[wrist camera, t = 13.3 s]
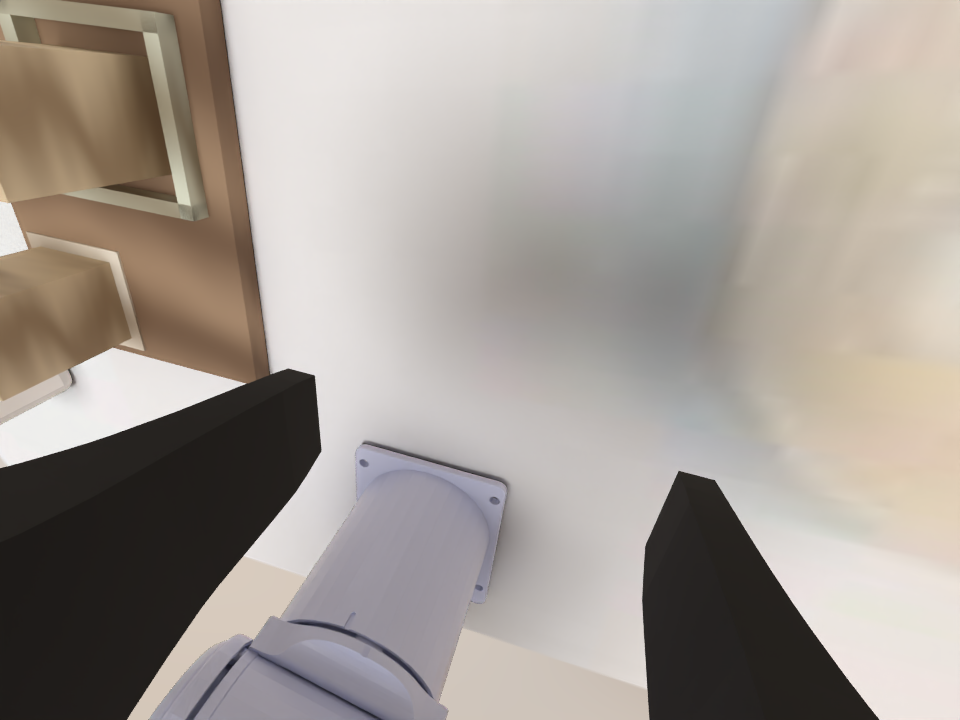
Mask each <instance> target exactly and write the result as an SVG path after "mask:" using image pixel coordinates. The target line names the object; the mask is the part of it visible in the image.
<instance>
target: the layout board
mask: <svg viewBox="0 0 960 720" xmlns="http://www.w3.org/2000/svg"><path fill="white" fill-rule="evenodd" d="M0 40H4V41H15V42H27V43H38V44H49V45H60V46H68V47H75V48H83V49H91V50H98V51H106V52H113V53H121V54H129V55H136V56H144V57H148V61H149V66H150V71H151V75H152V80H153V85H154V90H155V94H156V99H157V104H158V109H159V114H160V119H161V123H162V128H163V133H164V138H165V143H166V148H167V153H168V158H169V162H170V167H171V172H172V175H166V176H161V177H155V178H149V179H143V180H138V181H132V182H126V183H121V184H115V185H109V186H103V187H98V188H92V189H86V190H80V191H75V192H69V193H63V194H57V195H52V196H46V197H40V198H34V199H29V200H23V201H17V202H11V204H12V207H13V209H14V212H15V215H16V217H17V220H18V222H19V225H20V228H21V230H22V233H23V236H24V238H25V241H26V244H27V246H28V250H24V251H20V252H17V253H13V254H9V255H5V256H1V257H0V401H4V400H7V399H9V398H11V397H13V396H15V395H17V394H19V393H21V392H23V391H25V390H27V389H29V388H31V387H33V386H35V385H37V384H39V383H41V382H43V381H45V380H47V379H49V378H51V377H54V376H56V375H58V374H60V373H62V372H64V371H66V370H68V369H70V368H72V367H74V366H76V365H78V364H80V363H82V362H84V361H86V360H88V359H90V358H92V357H94V356H96V355H98V354H101V353H103V352H105V351H107V350H109V349H111V348H117V349H120V350H124V351H128V352H132V353H135V354H139V355H143V356H147V357H150V358H154V359H158V360H161V361H165V362H169V363H173V364H176V365H180V366H184V367H187V368H191V369H195V370H199V371H202V372H206V373H210V374H213V375H217V376H221V377H225V378H228V379H232V380H236V381H239V382H243V383H250V382H253V381H255V380H258V379H260V378H263V377H266V376H268V375H270V373H269V366H268V358H267V351H266V343H265V336H264V328H263V321H262V313H261V306H260V298H259V291H258V283H257V276H256V268H255V261H254V253H253V246H252V238H251V231H250V223H249V216H248V208H247V201H246V193H245V186H244V178H243V171H242V163H241V156H240V148H239V141H238V133H237V126H236V118H235V111H234V103H233V96H232V89H231V81H230V74H229V66H228V59H227V51H226V44H225V36H224V29H223V21H222V14H221V6H220V0H0Z"/></svg>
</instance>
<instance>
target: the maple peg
mask: <svg viewBox="0 0 960 720" xmlns="http://www.w3.org/2000/svg"><path fill="white" fill-rule="evenodd" d="M166 175H172V172H171V167H170V162H169V158H168V153H167V148H166V143H165V138H164V133H163V128H162V123H161V119H160V114H159V109H158V104H157V99H156V94H155V90H154V85H153V80H152V75H151V71H150V66H149V61H148V57H144V56H136V55H129V54H121V53H113V52H106V51H98V50H91V49H83V48H75V47H68V46H60V45H49V44H38V43H27V42H15V41H4V40H0V201H1V202H6V203H11V202H17V201H23V200H29V199H34V198H40V197H46V196H52V195H57V194H63V193H69V192H75V191H80V190H86V189H92V188H98V187H103V186H109V185H115V184H121V183H126V182H132V181H138V180H143V179H149V178H155V177H161V176H166Z"/></svg>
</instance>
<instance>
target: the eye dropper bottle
mask: <svg viewBox="0 0 960 720" xmlns="http://www.w3.org/2000/svg"><path fill="white" fill-rule="evenodd" d="M71 383H72V378H71V375H70V373H69V371H68V370H66V371H64V372H62V373H60V374H58V375H56V376H54V377H51V378H49V379H47V380H45V381H43V382H41V383H39V384H37V385H35V386H33V387H31V388H29V389H27V390H25V391H23V392H21V393H19V394H17V395H15V396H13V397H11V398H9V399H7V400H4V401H0V425H1V424H3V423H5V422H7V421H9V420H10V419H12V418H14V417H16V416H18V415H20V414H22V413H24V412H26V411H28V410H30V409H31V408H33V407H35V406H37V405H39V404H41V403H43V402H45V401H47V400H49V399H51V398H52V397H54V396H56V395H58V394H60V393H62V392H64V391H65V390H67V389H68V388H69V387H70V385H71Z"/></svg>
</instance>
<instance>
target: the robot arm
mask: <svg viewBox="0 0 960 720" xmlns="http://www.w3.org/2000/svg"><path fill="white" fill-rule="evenodd" d="M320 453H321V441H320V429H319V418H318V407H317V395H316V384H315V376H314V375H311V374H307V373H303V372H299V371H295V370H292V369H286V370H283V371H280V372H277V373H274V374H271V375H268V376H266V377H263V378H260V379H258V380H255V381H253V382H250V383H247V384H245V385H242V386H240V387H237V388H235V389H232V390H230V391H227V392H225V393H222V394H220V395H217V396H215V397H212V398H210V399H207V400H205V401H202V402H200V403H197V404H195V405H192V406H190V407H187V408H185V409H182V410H180V411H177V412H174V413H172V414H169V415H166V416H163V417H161V418H158V419H155V420H152V421H150V422H147V423H144V424H141V425H139V426H136V427H133V428H130V429H127V430H125V431H122V432H119V433H116V434H114V435H111V436H108V437H105V438H102V439H99V440H96V441H93V442H90V443H87V444H83V445H80V446H77V447H74V448H71V449H67V450H64V451H61V452H57V453H54V454H50V455H47V456H43V457H40V458H37V459H33V460H30V461H26V462H23V463H19V464H15V465H12V466H8V467H3V468H0V720H127V719H128V717H129V715H130V714H131V712H132V711H133V709H134V707H135V706H136V704H137V703H138V702H139V700H140V698H141V697H142V695H143V694H144V692H145V691H146V689H147V688H148V686H149V685H150V683H151V682H152V680H153V679H154V677H155V675H156V674H157V672H158V671H159V669H160V668H161V666H162V665H163V663H164V662H165V660H166V659H167V657H168V656H169V654H170V653H171V651H172V650H173V648H174V647H175V646H176V644H177V643H178V641H179V640H180V638H181V637H182V635H183V634H184V632H185V631H186V630H187V628H188V626H189V625H190V624H191V622H192V621H193V619H194V618H195V616H196V615H197V614H198V612H199V611H200V609H201V608H202V606H203V605H204V604H205V602H206V601H207V600H208V599H209V597H210V596H211V595H212V593H213V592H214V591H215V590H216V588H217V587H218V586H219V584H220V583H221V582H222V581H223V580H224V578H225V577H226V576H227V575H228V574H229V572H230V571H231V570H232V569H233V567H234V566H235V565H236V564H237V563H238V562H239V560H240V559H241V558H242V557H243V556H244V554H245V553H246V552H247V551H248V550H249V548H250V547H251V546H252V545H253V544H254V542H255V541H256V540H257V539H258V538H259V536H260V535H261V534H262V533H263V532H264V530H265V529H266V528H267V527H268V526H269V524H270V523H271V522H272V521H273V520H274V518H275V517H276V516H277V515H278V513H279V512H280V511H281V510H282V509H283V507H284V506H285V505H286V504H287V502H288V501H289V500H290V499H291V497H292V496H293V495H294V494H295V492H296V491H297V489H298V488H299V486H300V485H301V483H302V482H303V480H304V479H305V477H306V476H307V474H308V472H309V471H310V469H311V467H312V466H313V464H314V462H315V461H316V459H317V458H318V456H319V454H320ZM355 455H356V491H357V503H356V505H355V506H354V508H353V509H352V511H351V512H350V514H349V515H348V517H347V518H346V520H345V521H344V523H343V524H342V526H341V527H340V529H339V530H338V532H337V533H336V535H335V536H334V538H333V539H332V541H331V542H330V544H329V545H328V547H327V548H326V550H325V551H324V553H323V554H322V556H321V557H320V559H319V560H318V562H317V563H316V565H315V566H314V568H313V569H312V571H311V572H310V574H309V575H308V577H307V578H306V580H305V581H304V583H303V584H302V586H301V587H300V589H299V590H298V592H297V593H296V595H295V596H294V598H293V599H292V601H291V602H290V604H289V605H288V607H287V608H286V610H285V611H284V613H283V614H282V616H281V617H280V619H279V618H277V617H275V616H271V617H269V619H268V621H267V622H266V623H265V625H264V626H263V628H262V629H261V630H260V632H259V633H258V635H257V636H256V638H255V639H254V641H253V639H251V638H249V637H247V636H245V635H243V634H237V635H235V636H233V637H231V638H229V639H228V640H226V641H223V642H220V643H218V644H216V645H213V646H212V647H210V648H209V649H208V650H206V651H205V652H204V653H203V654H202V655H201V656H200V657H199V658H198V659H197V660H196V661H195V662H194V663H193V664H192V665H191V666H190V667H189V669H188V670H187V671H186V672H185V673H184V674H183V676H182V677H181V678H180V679H179V680H178V682H177V683H176V684H175V685H174V686H173V688H172V689H171V690H170V691H169V693H168V694H167V695H166V696H165V698H164V699H163V700H162V702H161V703H160V705H159V706H158V707H157V708H156V710H155V711H154V712H153V714H152V715H151V717H150V718H149V719H148V720H446V717H447V714H448V709H447V708H446V707H445V706H443V705H441V704H440V703H439V700H440V697H441V694H442V690H443V687H444V684H445V681H446V678H447V674H448V671H449V668H450V665H451V662H452V658H453V655H454V652H455V649H456V646H457V642H458V639H459V636H460V633H461V629H462V626H463V623H464V620H465V617H466V614H467V610H468V607H469V604H470V601H471V602H474V603H478V604H482V603H484V602H485V600H486V597H487V592H488V587H489V582H490V577H491V571H492V566H493V561H494V556H495V551H496V546H497V541H498V536H499V531H500V525H501V520H502V515H503V510H504V505H505V500H506V495H507V488H506V486H505V485H504V484H503V483H501V482H499V481H496V480H492V479H489V478H485V477H482V476H478V475H475V474H471V473H467V472H464V471H460V470H457V469H453V468H450V467H446V466H442V465H439V464H435V463H432V462H428V461H425V460H421V459H417V458H414V457H410V456H407V455H403V454H400V453H396V452H392V451H389V450H385V449H382V448H378V447H375V446H371V445H367V444H362V445H360V446H359V447H358V448H357V450H356V453H355ZM365 460H366V461H367V462H366V461H365ZM493 497H496V498H498V499H495V498H493ZM642 604H643V623H644V640H645V657H646V672H647V688H648V703H649V718H650V720H879V719H878V717H877V716H876V715H875V714H874V712H873V711H872V710H871V709H870V708H869V706H868V705H867V704H866V702H865V701H864V700H863V699H862V697H861V696H860V695H859V693H858V692H857V691H856V689H855V688H854V687H853V686H852V684H851V683H850V682H849V680H848V679H847V678H846V676H845V675H844V674H843V672H842V671H841V670H840V668H839V667H838V666H837V664H836V663H835V661H834V660H833V659H832V657H831V656H830V655H829V653H828V652H827V650H826V649H825V648H824V646H823V645H822V644H821V642H820V641H819V640H818V638H817V637H816V635H815V634H814V633H813V631H812V630H811V629H810V627H809V626H808V624H807V623H806V621H805V620H804V619H803V617H802V616H801V614H800V613H799V611H798V610H797V608H796V607H795V606H794V604H793V603H792V601H791V600H790V598H789V597H788V595H787V594H786V592H785V591H784V589H783V588H782V586H781V585H780V583H779V582H778V580H777V579H776V577H775V576H774V574H773V573H772V571H771V570H770V568H769V566H768V565H767V563H766V562H765V560H764V559H763V557H762V556H761V554H760V552H759V551H758V549H757V548H756V546H755V544H754V543H753V541H752V540H751V538H750V536H749V535H748V533H747V532H746V530H745V528H744V527H743V525H742V524H741V522H740V520H739V519H738V517H737V515H736V514H735V512H734V511H733V509H732V507H731V506H730V504H729V502H728V501H727V499H726V498H725V496H724V494H723V493H722V491H721V489H720V488H719V486H718V485H717V483H716V481H715V480H712V479H708V478H704V477H700V476H696V475H692V474H689V473H685V472H681V471H679V472H678V474H677V476H676V478H675V481H674V483H673V485H672V487H671V490H670V492H669V494H668V496H667V499H666V501H665V503H664V505H663V507H662V510H661V512H660V514H659V516H658V519H657V521H656V523H655V525H654V528H653V530H652V532H651V534H650V537H649V539H648V541H647V543H646V546H645V560H644V575H643V596H642Z"/></svg>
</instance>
